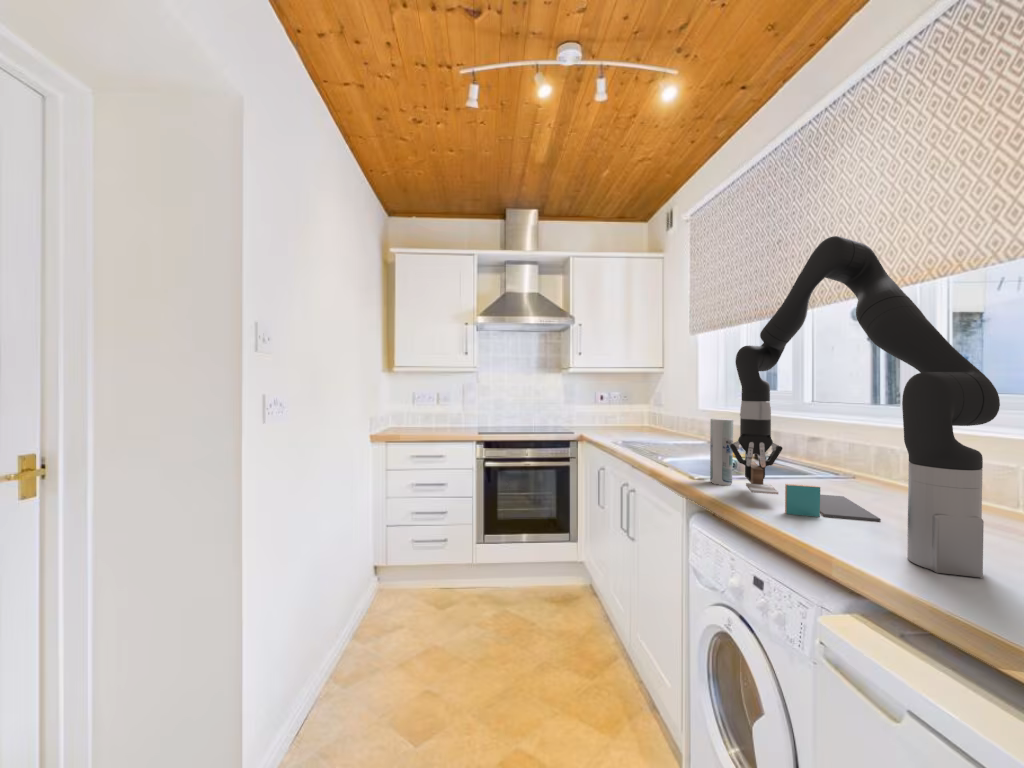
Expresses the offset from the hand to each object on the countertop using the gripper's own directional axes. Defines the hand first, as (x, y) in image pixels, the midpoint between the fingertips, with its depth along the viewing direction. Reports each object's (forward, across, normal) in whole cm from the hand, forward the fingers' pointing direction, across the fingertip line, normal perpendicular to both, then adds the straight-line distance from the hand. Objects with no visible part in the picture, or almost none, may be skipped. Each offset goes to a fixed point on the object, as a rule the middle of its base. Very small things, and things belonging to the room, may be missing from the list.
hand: (754, 479), depth 127 cm
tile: (+5, +7, -17) cm, 19 cm away
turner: (+1, 0, -3) cm, 3 cm away
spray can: (+4, -7, +14) cm, 16 cm away
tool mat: (+4, +17, -6) cm, 19 cm away
